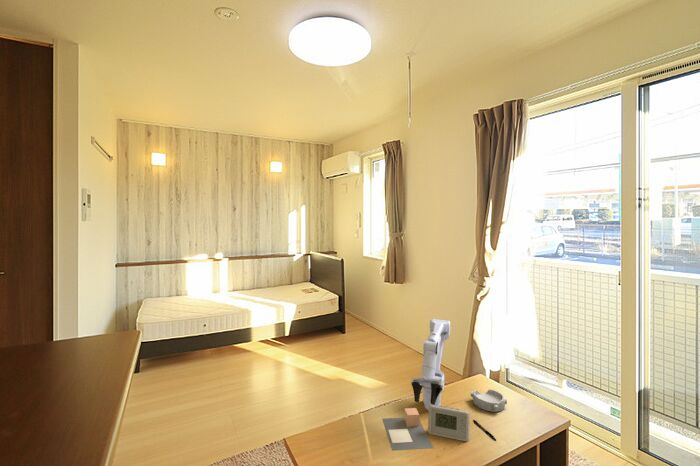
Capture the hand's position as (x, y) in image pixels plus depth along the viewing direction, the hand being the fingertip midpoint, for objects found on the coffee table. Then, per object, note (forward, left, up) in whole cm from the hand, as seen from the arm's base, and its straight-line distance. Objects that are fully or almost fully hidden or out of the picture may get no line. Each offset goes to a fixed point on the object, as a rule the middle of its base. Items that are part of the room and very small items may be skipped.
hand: (424, 402), depth 135 cm
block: (-6, -3, -12) cm, 14 cm away
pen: (0, +26, -13) cm, 29 cm away
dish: (-18, +38, -13) cm, 44 cm away
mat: (0, -7, -13) cm, 15 cm away
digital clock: (+2, +10, -13) cm, 16 cm away
